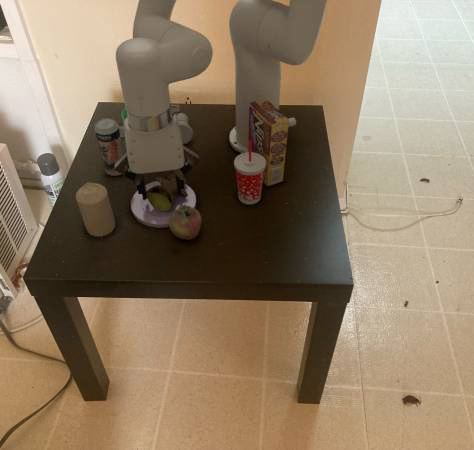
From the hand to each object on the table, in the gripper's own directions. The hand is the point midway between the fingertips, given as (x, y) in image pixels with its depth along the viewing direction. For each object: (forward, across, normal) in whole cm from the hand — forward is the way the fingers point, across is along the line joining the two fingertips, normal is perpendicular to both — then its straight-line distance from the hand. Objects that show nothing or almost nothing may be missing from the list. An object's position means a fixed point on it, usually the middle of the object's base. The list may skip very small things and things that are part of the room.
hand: (162, 192), depth 95 cm
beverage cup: (+3, -17, +1) cm, 18 cm away
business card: (+4, +8, -27) cm, 29 cm away
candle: (+3, +12, +4) cm, 13 cm away
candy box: (+3, -22, -6) cm, 23 cm away
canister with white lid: (+3, +9, -13) cm, 16 cm away
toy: (-1, +1, +3) cm, 3 cm away
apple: (+3, -4, +9) cm, 10 cm away
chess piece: (0, -6, -19) cm, 20 cm away
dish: (+3, 0, 0) cm, 3 cm away
